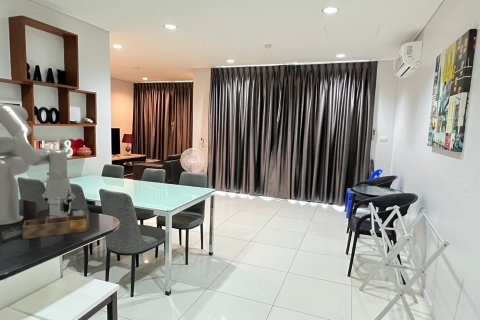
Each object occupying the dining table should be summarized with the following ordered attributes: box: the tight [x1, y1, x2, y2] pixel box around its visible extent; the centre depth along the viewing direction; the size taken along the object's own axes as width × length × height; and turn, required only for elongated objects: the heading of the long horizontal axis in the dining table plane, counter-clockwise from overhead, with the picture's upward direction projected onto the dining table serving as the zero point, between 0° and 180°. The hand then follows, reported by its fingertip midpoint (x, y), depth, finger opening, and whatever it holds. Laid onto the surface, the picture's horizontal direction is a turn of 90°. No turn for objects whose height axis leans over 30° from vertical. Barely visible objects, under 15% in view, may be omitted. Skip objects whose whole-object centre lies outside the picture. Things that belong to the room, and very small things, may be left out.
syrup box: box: [49, 197, 69, 218], centre depth 146 cm, size 6×6×14 cm
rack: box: [22, 214, 90, 240], centre depth 137 cm, size 25×9×6 cm, turn 121°
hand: (59, 210), depth 146 cm, fingers closed on syrup box, 6 cm apart
